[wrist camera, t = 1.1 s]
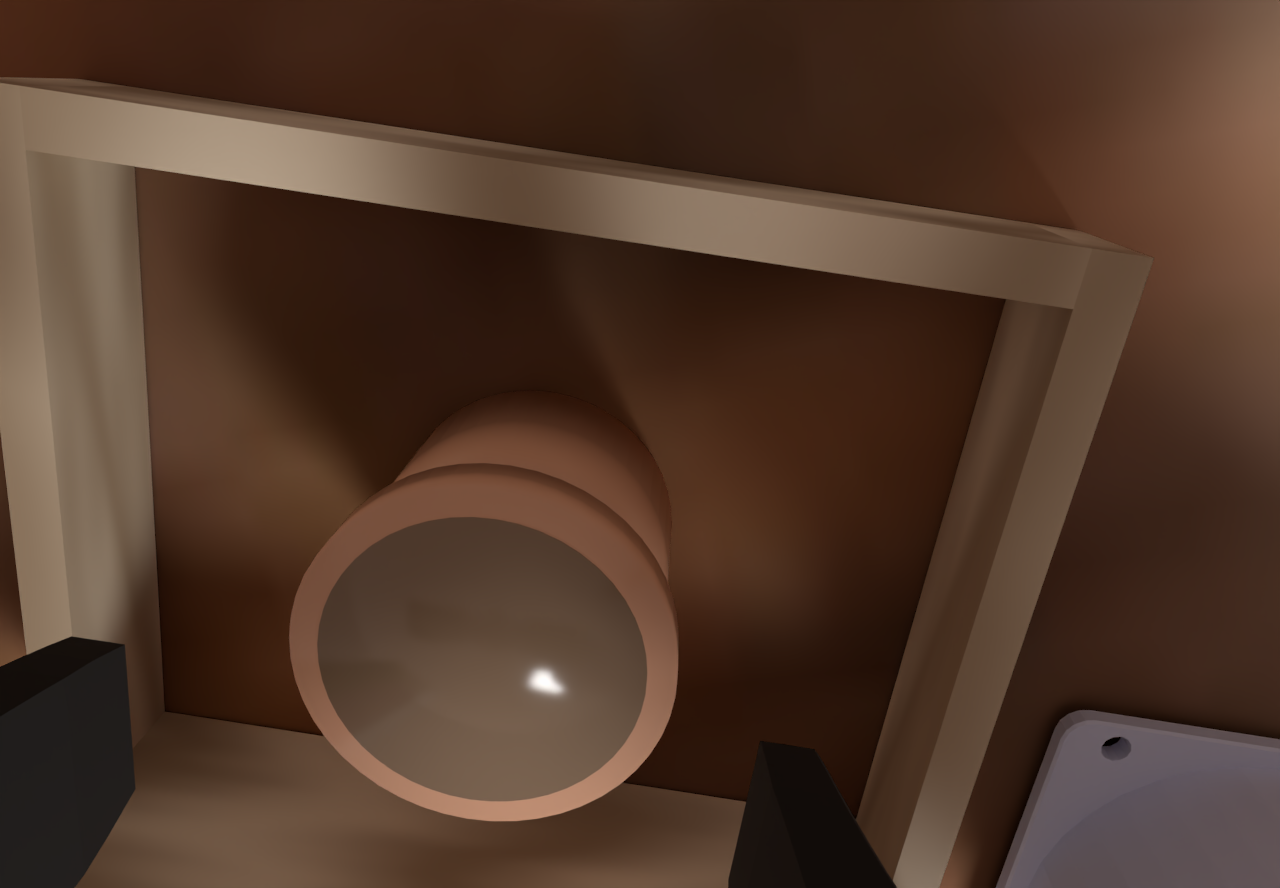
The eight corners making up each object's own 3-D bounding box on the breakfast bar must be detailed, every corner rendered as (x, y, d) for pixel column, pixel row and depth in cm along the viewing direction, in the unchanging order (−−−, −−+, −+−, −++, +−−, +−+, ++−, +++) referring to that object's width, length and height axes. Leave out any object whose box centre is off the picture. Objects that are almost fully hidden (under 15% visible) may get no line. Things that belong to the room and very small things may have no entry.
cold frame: (1079, 230, 14) (1239, 288, 10) (886, 855, 19) (940, 1075, 15) (78, 79, 14) (-178, 73, 10) (127, 737, 19) (-36, 923, 15)
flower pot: (705, 404, 16) (707, 523, 11) (659, 661, 18) (647, 849, 13) (401, 357, 16) (288, 459, 11) (388, 619, 18) (287, 793, 13)
